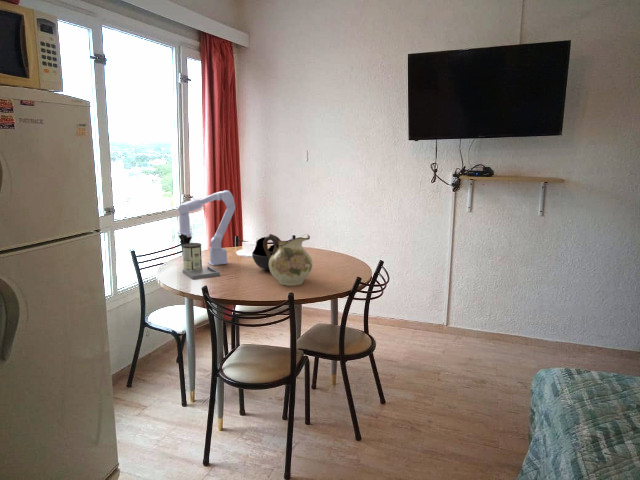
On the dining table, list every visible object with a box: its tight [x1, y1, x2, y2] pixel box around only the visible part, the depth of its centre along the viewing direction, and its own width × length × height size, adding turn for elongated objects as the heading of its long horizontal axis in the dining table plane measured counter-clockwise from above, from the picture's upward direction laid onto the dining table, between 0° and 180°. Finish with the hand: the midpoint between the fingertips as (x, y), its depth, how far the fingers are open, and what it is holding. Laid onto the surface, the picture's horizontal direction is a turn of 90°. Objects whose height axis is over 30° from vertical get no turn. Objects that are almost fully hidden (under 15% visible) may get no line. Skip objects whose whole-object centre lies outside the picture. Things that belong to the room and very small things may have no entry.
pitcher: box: [263, 233, 313, 287], centre depth 232 cm, size 22×24×25 cm
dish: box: [236, 236, 263, 258], centre depth 300 cm, size 25×25×11 cm
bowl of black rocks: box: [252, 236, 279, 271], centre depth 257 cm, size 20×20×19 cm
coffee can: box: [181, 242, 203, 271], centre depth 258 cm, size 10×10×14 cm
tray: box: [182, 265, 221, 280], centre depth 249 cm, size 15×16×2 cm
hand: (185, 247), depth 267 cm, fingers open, 3 cm apart
